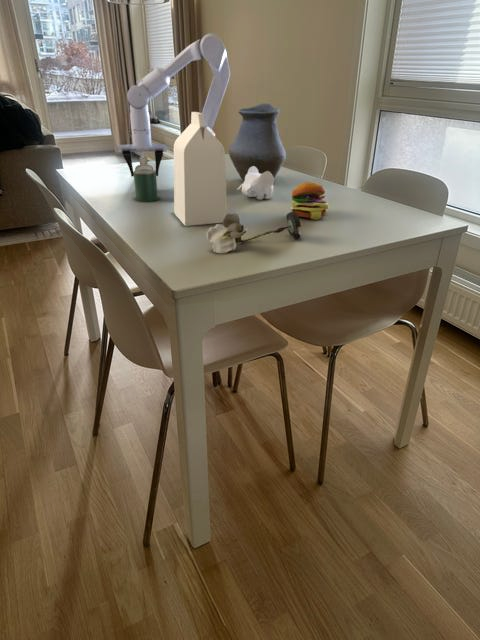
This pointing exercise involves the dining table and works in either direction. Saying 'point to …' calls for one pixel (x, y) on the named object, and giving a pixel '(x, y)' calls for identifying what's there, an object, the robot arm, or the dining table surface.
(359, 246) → the dining table surface
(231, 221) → the artificial flower
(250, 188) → the elephant figurine
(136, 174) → the green tin can
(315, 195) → the cheeseburger
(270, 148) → the grey clay vase
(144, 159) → the eye dropper bottle
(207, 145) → the milk
